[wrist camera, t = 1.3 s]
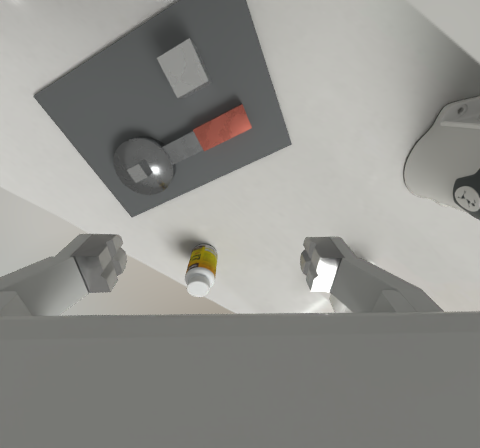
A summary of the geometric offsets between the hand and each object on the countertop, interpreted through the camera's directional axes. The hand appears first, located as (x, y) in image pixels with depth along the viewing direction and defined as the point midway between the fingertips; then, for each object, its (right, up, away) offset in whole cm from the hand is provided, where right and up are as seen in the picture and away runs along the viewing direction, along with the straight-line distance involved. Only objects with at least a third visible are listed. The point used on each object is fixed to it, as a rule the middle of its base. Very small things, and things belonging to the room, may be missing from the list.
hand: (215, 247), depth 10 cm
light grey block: (-6, +22, +21) cm, 31 cm away
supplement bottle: (-7, -5, +38) cm, 39 cm away
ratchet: (-8, +14, +26) cm, 30 cm away
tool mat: (-10, +17, +24) cm, 31 cm away
